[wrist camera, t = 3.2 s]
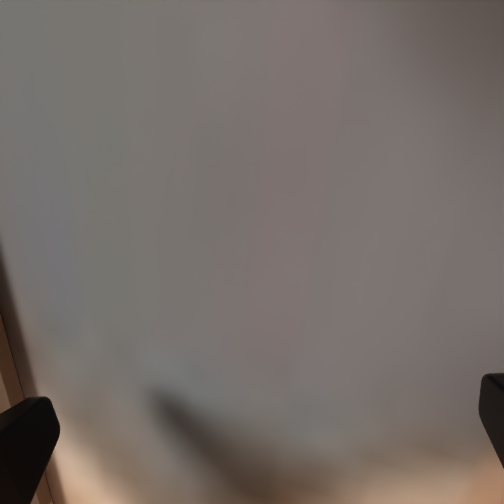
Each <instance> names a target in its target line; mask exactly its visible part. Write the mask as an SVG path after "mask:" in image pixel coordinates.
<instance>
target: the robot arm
mask: <svg viewBox="0 0 504 504" xmlns="http://www.w3.org/2000/svg"><path fill="white" fill-rule="evenodd" d="M479 415H480V418H481V421H482V423H483V426H484V428H485V430H486V432H487V434H488V436H489V438H490V440H491V443H492V445H493V447H494V449H495V451H496V453H497V455H498V457H499V460H500V462H501V464H502V466H503V468H504V373H490V374H485V375H484V376H483V377H482V380H481V388H480V398H479ZM59 435H60V424H59V421H58V419H57V416H56V413H55V410H54V408H53V405H52V402H51V400H50V399H49V398H48V397H44V396H43V397H29V398H26V399H24V400H23V401H21V402H19V403H18V404H16V405H14V406H12V407H11V408H9V409H7V410H6V411H4V412H2V413H0V504H31V502H32V500H33V498H34V495H35V493H36V491H37V488H38V486H39V483H40V481H41V479H42V476H43V474H44V472H45V469H46V467H47V465H48V462H49V460H50V457H51V455H52V453H53V450H54V448H55V446H56V443H57V441H58V438H59Z"/></svg>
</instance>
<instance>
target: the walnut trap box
mask: <svg viewBox="0 0 504 504" xmlns="http://www.w3.org/2000/svg"><path fill="white" fill-rule="evenodd" d="M23 400H24V397H23V394H22V390H21V387H20V383H19V379H18V376H17V372H16V368H15V365H14V361H13V358H12V354H11V350H10V347H9V343H8V340H7V336H6V332H5V329H4V325H3V322H2V318H1V314H0V413H2V412H4V411H6V410H7V409H9V408H11V407H12V406H14V405H16V404H18V403H19V402H21V401H23ZM31 504H53V502H52V498H51V495H50V491H49V488H48V484H47V480H46V477H45V473H44V474H43V476H42V479H41V481H40V483H39V486H38V488H37V491H36V493H35V495H34V498H33V500H32V502H31Z"/></svg>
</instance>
